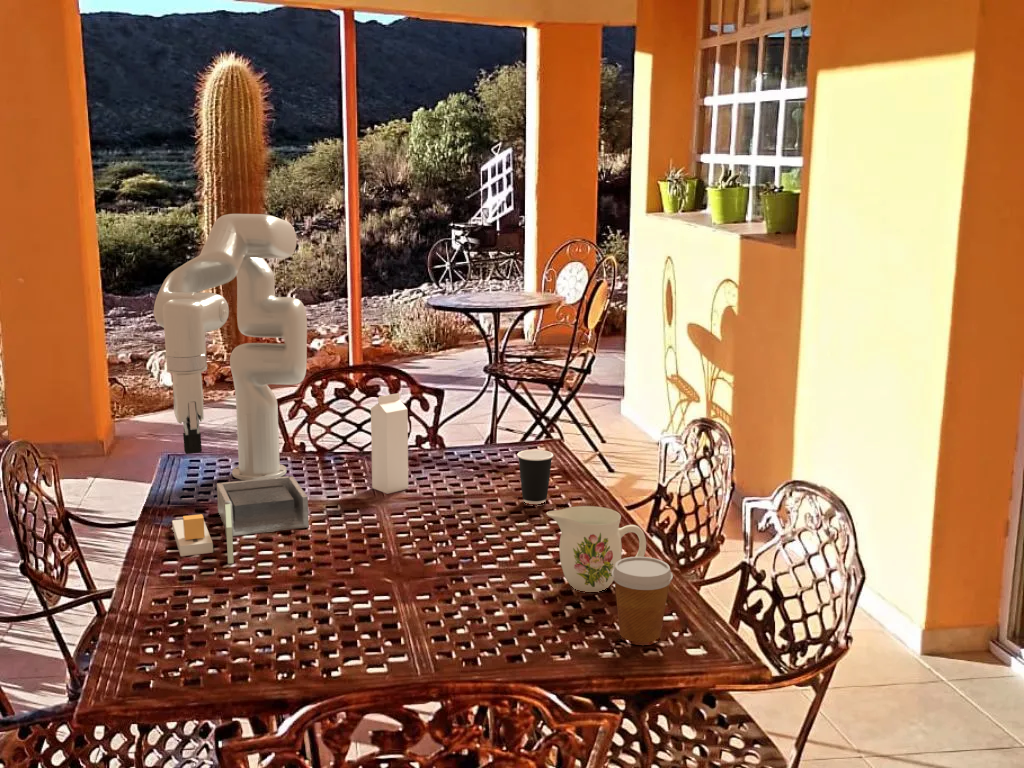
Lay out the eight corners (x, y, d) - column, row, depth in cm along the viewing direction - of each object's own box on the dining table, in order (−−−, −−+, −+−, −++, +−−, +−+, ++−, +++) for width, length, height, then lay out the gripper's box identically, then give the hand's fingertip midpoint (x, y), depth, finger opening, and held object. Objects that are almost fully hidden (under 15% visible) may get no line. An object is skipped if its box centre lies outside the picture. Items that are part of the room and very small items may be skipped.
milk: (408, 489, 249) (408, 395, 244) (387, 494, 245) (386, 398, 240) (392, 483, 253) (392, 390, 249) (371, 488, 249) (370, 394, 245)
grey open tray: (218, 512, 231) (216, 483, 229) (293, 504, 237) (292, 475, 235) (228, 536, 216) (227, 505, 215) (308, 527, 222) (307, 496, 221)
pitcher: (652, 595, 189) (654, 520, 186) (549, 599, 187) (551, 523, 184) (637, 572, 199) (639, 500, 197) (540, 576, 197) (541, 503, 194)
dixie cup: (559, 503, 239) (560, 455, 237) (531, 510, 234) (531, 461, 232) (538, 494, 245) (538, 447, 243) (509, 500, 241) (509, 452, 238)
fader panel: (172, 529, 220) (172, 520, 219) (203, 526, 222) (202, 516, 222) (180, 556, 205) (180, 545, 205) (213, 552, 208) (212, 541, 207)
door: (232, 535, 216) (231, 500, 215) (234, 563, 201) (232, 526, 200) (225, 535, 216) (224, 501, 214) (226, 563, 201) (225, 526, 200)
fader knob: (183, 535, 210) (182, 516, 209) (203, 533, 211) (202, 514, 210) (185, 539, 207) (184, 520, 207) (204, 537, 209) (203, 517, 208)
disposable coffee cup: (597, 637, 172) (599, 565, 170) (635, 620, 179) (637, 551, 176) (644, 657, 165) (647, 582, 163) (682, 638, 172) (685, 566, 170)
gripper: (163, 356, 217) (170, 443, 222) (170, 372, 204) (177, 465, 208) (202, 353, 220) (207, 439, 225) (211, 369, 207) (217, 461, 211)
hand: (193, 452), depth 216 cm, fingers closed
